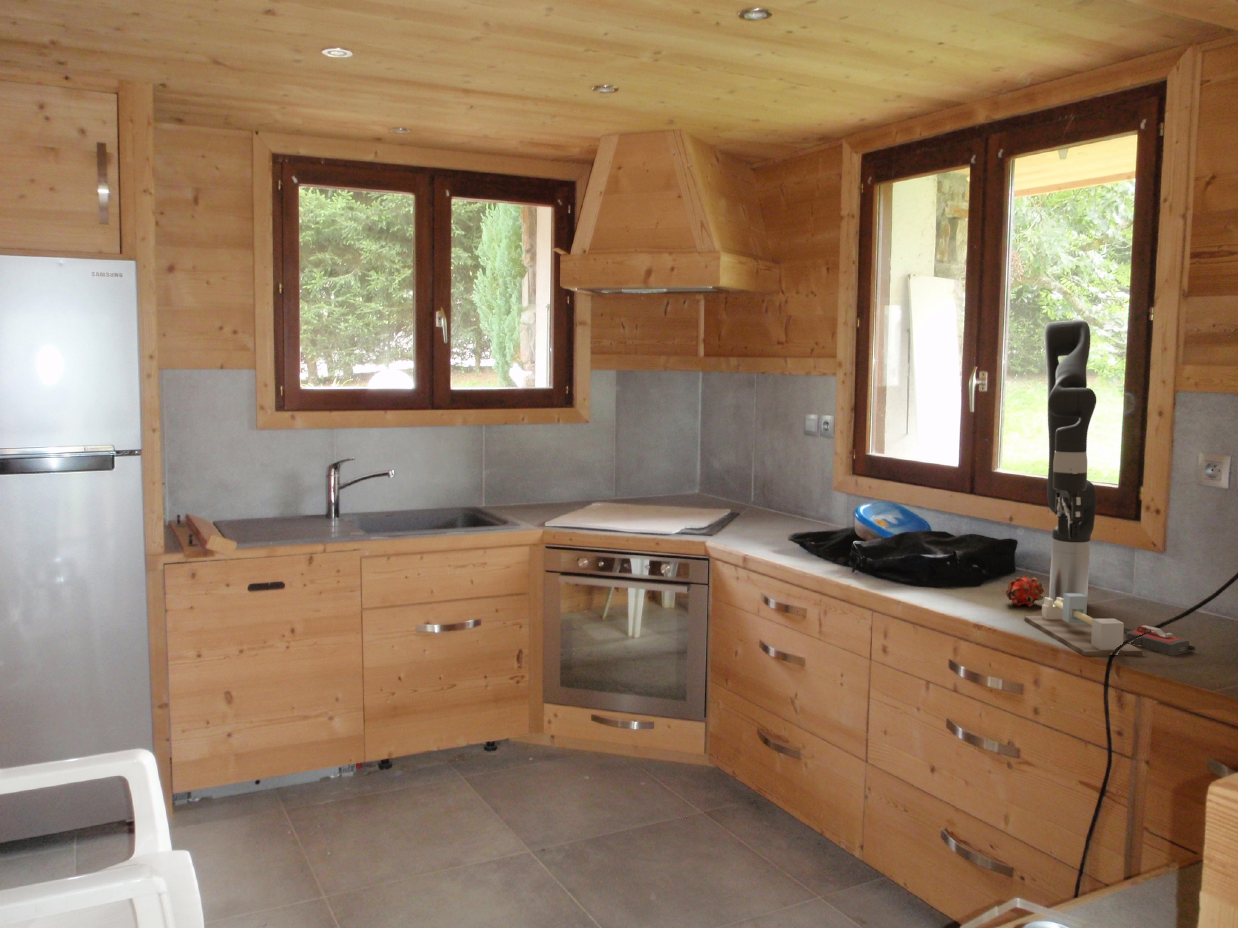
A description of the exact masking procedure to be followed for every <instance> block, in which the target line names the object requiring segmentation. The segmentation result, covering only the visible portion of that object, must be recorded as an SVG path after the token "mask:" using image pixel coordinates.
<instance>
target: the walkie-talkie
mask: <svg viewBox="0 0 1238 928" xmlns="http://www.w3.org/2000/svg"><path fill="white" fill-rule="evenodd" d="M1124 631H1125V632H1126V636H1125V638H1126V640H1127V639H1131V638H1133V637H1136V636H1139V635H1142V634H1144V633H1147V632H1150V631H1151V632H1150V633H1148V634H1145V635H1143V636H1141V638H1138V639H1135V640H1134V641H1133V642H1131V644H1130V645H1133V644H1135V645H1134V646H1136V645H1141V646H1142V647H1141V648H1143V647H1146V648H1145V649H1147V648H1148V649H1147V650H1150V651H1155V652H1158V653H1162V654H1166V655H1170V656H1176V655H1181V654H1187V653H1189V651H1196V647H1195V646H1194V645H1190V641H1189V640H1186V639H1183V638H1179V637H1176V636H1174V635H1173V633H1172V632H1167V633H1165V632H1164V631H1163V630H1162V628H1158V627H1155V626H1150V625H1147V624H1145V625H1140V626H1137V627H1136V628H1133V627H1129V626H1125V625H1124Z"/></svg>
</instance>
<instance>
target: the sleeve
mask: <svg viewBox="0 0 1238 928" xmlns="http://www.w3.org/2000/svg"><path fill="white" fill-rule="evenodd" d="M1087 606H1088V595H1087V596H1085V595H1083V594H1081V593H1064V596H1063V616H1062V620H1064V621H1066V622H1067V623H1086V622H1084V621H1082V620H1080V619H1078V618H1076V617H1075V616H1073V615H1072V609H1076V610H1078V611H1080V612H1082V613H1084V614H1086V615H1087V608H1088V607H1087Z"/></svg>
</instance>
